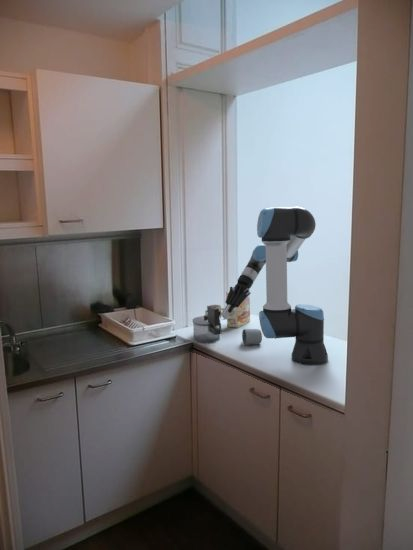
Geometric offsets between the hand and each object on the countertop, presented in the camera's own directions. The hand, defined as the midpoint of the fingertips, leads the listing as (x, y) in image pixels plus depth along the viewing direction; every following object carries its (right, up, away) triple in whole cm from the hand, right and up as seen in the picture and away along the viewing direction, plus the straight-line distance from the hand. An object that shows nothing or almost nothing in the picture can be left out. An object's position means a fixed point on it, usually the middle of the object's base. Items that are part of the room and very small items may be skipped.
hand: (224, 317), depth 219 cm
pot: (-8, -12, +6) cm, 15 cm away
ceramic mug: (+13, -13, -1) cm, 18 cm away
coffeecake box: (+10, -7, +33) cm, 36 cm away
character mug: (-4, -9, +24) cm, 26 cm away
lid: (-7, -3, +3) cm, 9 cm away
